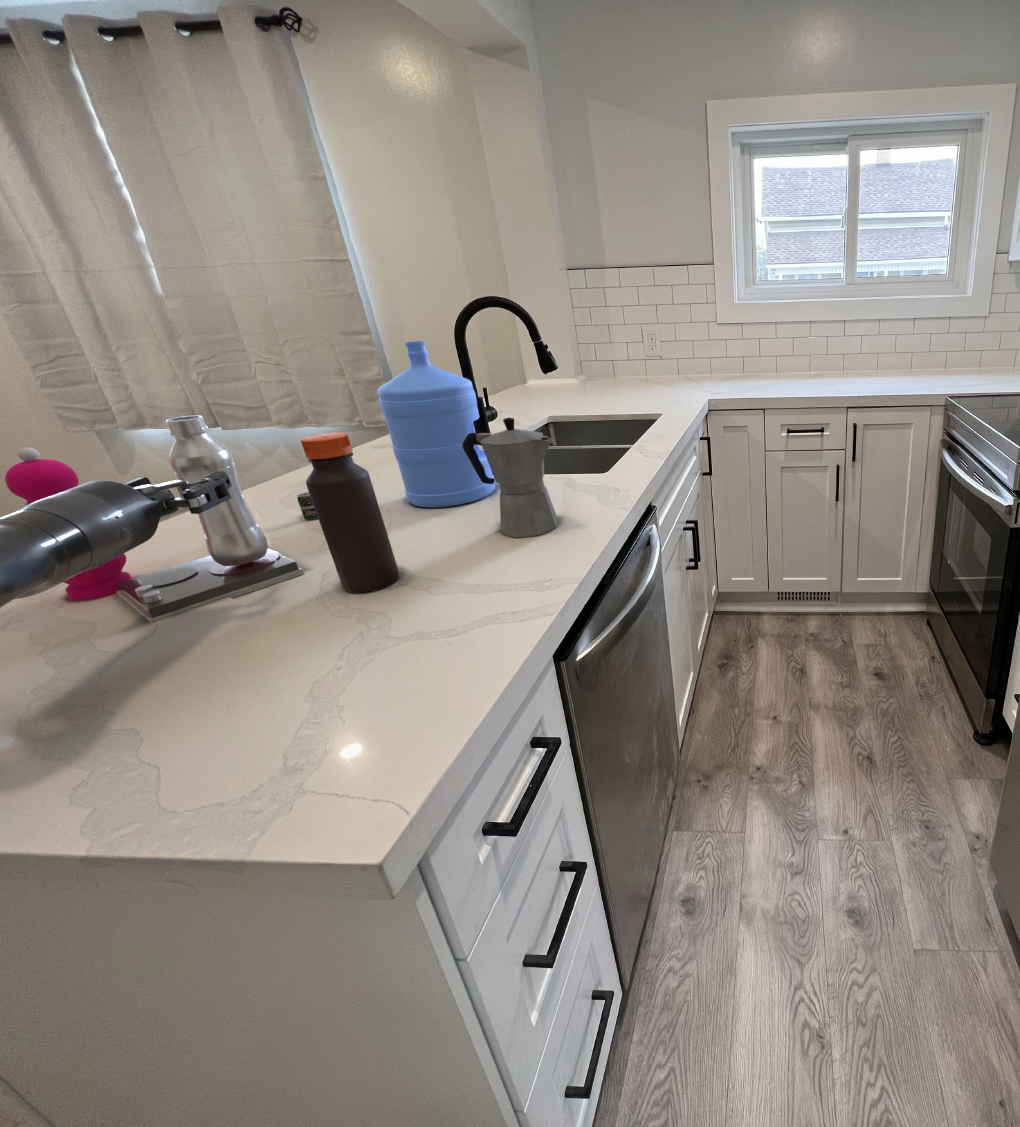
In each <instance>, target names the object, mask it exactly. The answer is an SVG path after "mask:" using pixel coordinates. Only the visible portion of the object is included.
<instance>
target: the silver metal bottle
mask: <svg viewBox="0 0 1020 1127" xmlns="http://www.w3.org/2000/svg"><path fill="white" fill-rule="evenodd" d="M165 424H166V425H167V427H168V432H169V434H170V435H169V436H172V437H174V439H175V440H174V442H173V444H172V447H171V449H170V453H169V455H168V459H169V460H168V461H169V466H170V468H171V470H172V471H173V472H174V475H175V476H176V478H177V480H182V481H186V482H190V481H194V480H198V479H201V478H204V477H206V476H208V475H211V474H213V473H215V472H221V471H224V472H225V473H226V475H227V474H228V476H229V479H230V481H231V484H232V486H231V487H230V488H229V489H228V490H229V493H230V495H231V497H232V498H231V499H229V500H227V501H224V502H222V503H220V504H218V505H216V506H214V507H212V508H210V509H208V510H206V511H204V512H201V513H200V514H197V516H198V519H199V522H200V525H201V528H202V531H203V534H204V542H205V546H206V548H207V553H208V554H209V556H211V557H212V558H213V560H214V561H215V562H217V563H219V564H220V565H222V566H236V565H242V564H246V563H250V562H253V561H256V560H258V559H260V558H262V557H263V556H265V555H266V552H267V549H268V548H269V545H268V541H267V540H268V539H267V537H266V536H265V534H264V532H263V530H262V528H261V527H260V526H259V525H258V524H257V522H256V520H255V518H254V516H253V514H252V511H251V510H250V508H249V506H248V504H247V503H246V499H245V497H244V495H243V491H242V488H241V485H240V481H239V478H238V473H237V469H236V464H235V462H234V461H235V460H234V457H233V454H232V453H231V450H229V448H227V446H225V445H224V444H223V443H222V442H220V441H219V440H217V439H216V438H214V437H212V436H211V435H209V434H208V432H209V431H210V428H209V426H207V424H206V422H205V419H204V417H203V416H202V415H186V416H178V417H172V418H168V419H166V420H165ZM192 488H194V487H192ZM192 488H191V489H192Z"/></svg>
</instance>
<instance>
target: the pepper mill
mask: <svg viewBox="0 0 1020 1127" xmlns="http://www.w3.org/2000/svg"><path fill="white" fill-rule="evenodd" d="M17 457H18V458H19V459H20V460H21V462H18V463H16V464H13V465H12V466H10V468H9V469H8V470H7V471H6V473H5V476H4V480H5V485H6V487H7V488H8V490H9V492H11V494H14V495H15V496H17V497H18V498H21V499H23V500H24V501H25V502H24V504H23V505H24V507H25V506H26V505H28V504H30V503H33V502H35V501H38V500H40V499H43V498H46V497H49V496H52V495H54V494H57V493H60V492H62V491H65V490H68V489H71V488H74V487H76V486H79V477H78V475H77V473H76V471H75V470H74V469H73V468H72V467H71V466H70V465H68V464H66V463H64V462H62V461H60V460H57V459H50V458H41V454H40V452H39V451H38V450H37V449H36V448H33V447H27V446H26V447H22V448H20V449H19V450H18V451H17ZM126 563H127V555H126V554H125V553H124V554H122V555H120V556H118V557H116V558H114V559H112V560H110V561H109V562H107V563H105V564H103V565H101V566H99V567H96V568H94V569H91V570H88V571H85V572H82V573H80V574H78V575H76V576H74V577H72V578H70V579H68V580H66V581H64V582H62V583H64V584H67V586H66V587H65V589H64V591H65V593H66V594H67V596H68V598H69V599H70V600H72V601H87V600H88V601H89V600H94V599H100V598H103V597H106V596H109V595H113V594H117V592H116V591H119V589H118V587H117V585H116V583H118V582H121V581H125V580H128V579H132V578H133V577H132V576H131V574H130V573H129V572H128V571H124V570H123V569H124V567H125V565H126Z"/></svg>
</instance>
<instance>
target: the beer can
mask: <svg viewBox="0 0 1020 1127" xmlns="http://www.w3.org/2000/svg"><path fill="white" fill-rule="evenodd" d="M296 498H297V503H298V505H299V509H300V511H301V513H302V514H301V515H302V516H303V519H304V520H306V521H315V520H319V519H318V516H317V513H316V511H315V508H314V505H313V502H312V499H311V497H310V494H309V491H308V492H302V493H299V494H297V495H296Z"/></svg>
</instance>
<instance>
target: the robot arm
mask: <svg viewBox="0 0 1020 1127" xmlns="http://www.w3.org/2000/svg"><path fill="white" fill-rule="evenodd" d="M231 486H232V484H231V481H230V479H229V476H228V474H227V475H226V473H225V472H224V471H221V472H215V473H213V474H211V475H208V476H206V477H204V478H201V479H198V480H194V481H190V482H186V481H182V480H179V479H175V480H171V481H167V482H162V483H158V484H154V485H153V484H152V483H151V481H150V479H149V478H148V477H147V476H145V477H137V478H135V479H132V480H130V481H129V480H128V481H126V482H124V483H122V482H119V481H115V480H106V479H100V480H99V479H98V480H97V479H96V480H91V481H87V482H85V483H82V484H78V485H77V486H76V487H74V488H71V489H68V490H65V491H62V492H60V493H57V494H54V495H52V496H49V497H46V498H43V499H40V500H38V501H35V502H33V503H30V504H28V505H26V506H25V505H24V506H22V507H21V508H19V509H17V510H16V511H14V512H10V513H8V514H5V515H2V516H0V609H1V608H2V607H4V606H6V605H8V604H9V603H10V602H11V603H12V601H14V600H20V599H24V598H30V597H33V596H36V595H39V594H42V593H44V592H46V591H48V590H50V589H53V588H55V587H57V586H58V585H61V584H62V583H63V582H64V581H66V580H68V579H70V578H72V577H74V576H76V575H78V574H80V573H82V572H85V571H88V570H91V569H94V568H96V567H99V566H101V565H103V564H105V563H107V562H109V561H110V560H112V559H114V558H116V557H118V556H120V555H122V554H125V553H127V552H129V551H131V550H133V549H135V548H137V547H138V546H141V545H142V544H144V543H146V542H148V541H149V540H150V539H151V538H153V536H154V535H155V534H156V532H157V529H158V527H159V524H160V523H159V522H160V521H163V520H167V519H170V517H171V516H173V515H177V514H181V513H184V512H188V511H189V512H190V514H191V515H198V514H200V513H201V512H204V511H206V510H208V509H210V508H212V507H214V506H216V505H218V504H220V503H222V502H224V501H227V500H229V499H231V498H232V497H231V495H230V493H229V490H228V489H229V488H230V487H231ZM192 487H194V488H192ZM174 488H176V490H177V492H178V493H179V494H178V495H179V496H180V497H175V496H174V493H172V491H171V489H174ZM191 488H192V489H191Z"/></svg>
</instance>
